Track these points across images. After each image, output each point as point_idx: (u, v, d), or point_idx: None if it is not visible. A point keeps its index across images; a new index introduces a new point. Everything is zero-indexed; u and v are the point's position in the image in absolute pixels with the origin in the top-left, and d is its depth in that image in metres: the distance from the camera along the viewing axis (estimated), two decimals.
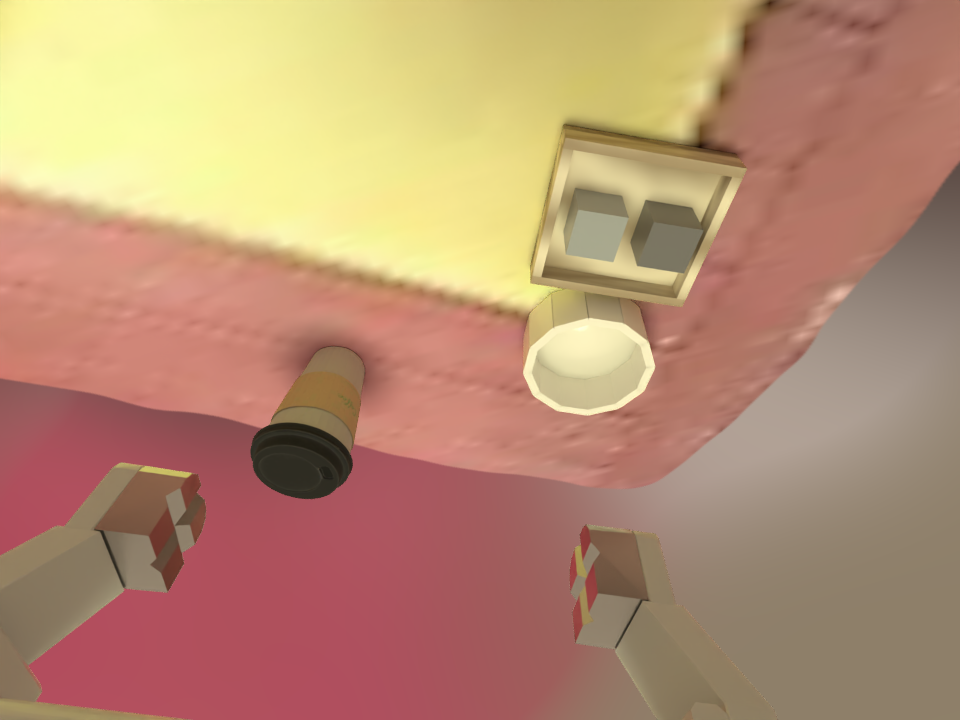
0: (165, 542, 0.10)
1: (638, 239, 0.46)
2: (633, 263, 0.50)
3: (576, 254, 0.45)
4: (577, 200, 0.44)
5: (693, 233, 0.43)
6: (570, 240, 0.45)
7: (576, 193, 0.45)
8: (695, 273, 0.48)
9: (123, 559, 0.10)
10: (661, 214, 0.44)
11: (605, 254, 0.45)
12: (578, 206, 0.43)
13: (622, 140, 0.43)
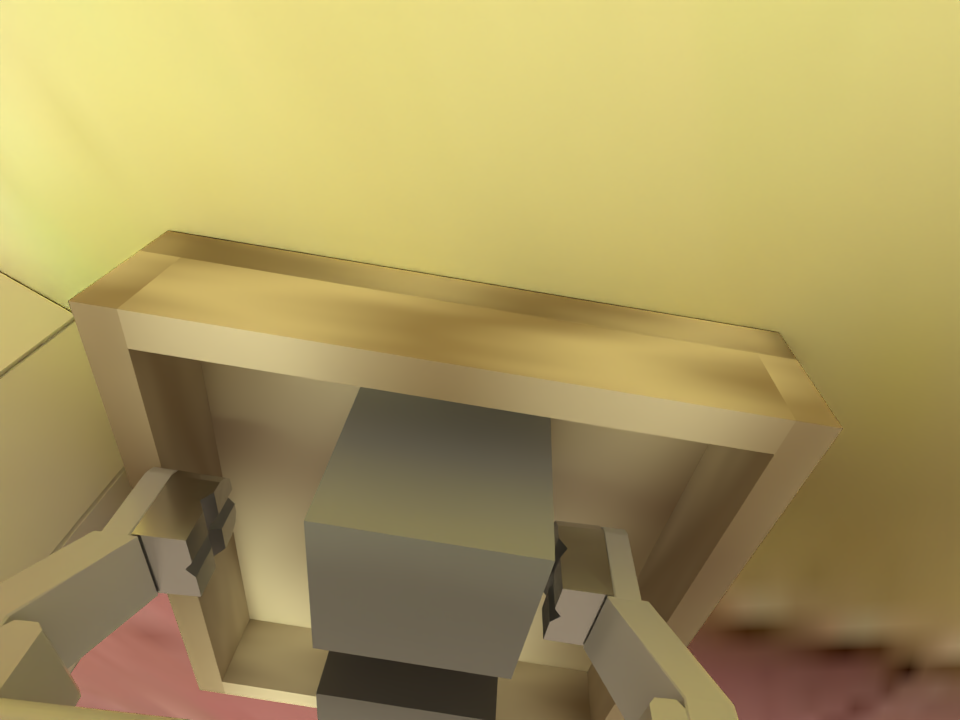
0: (199, 546, 0.10)
1: None
2: (293, 549, 0.16)
3: (315, 555, 0.09)
4: (550, 481, 0.10)
5: None
6: (386, 535, 0.09)
7: (549, 433, 0.11)
8: (313, 704, 0.17)
9: (158, 563, 0.10)
10: None
11: (341, 630, 0.11)
12: (551, 531, 0.09)
13: None
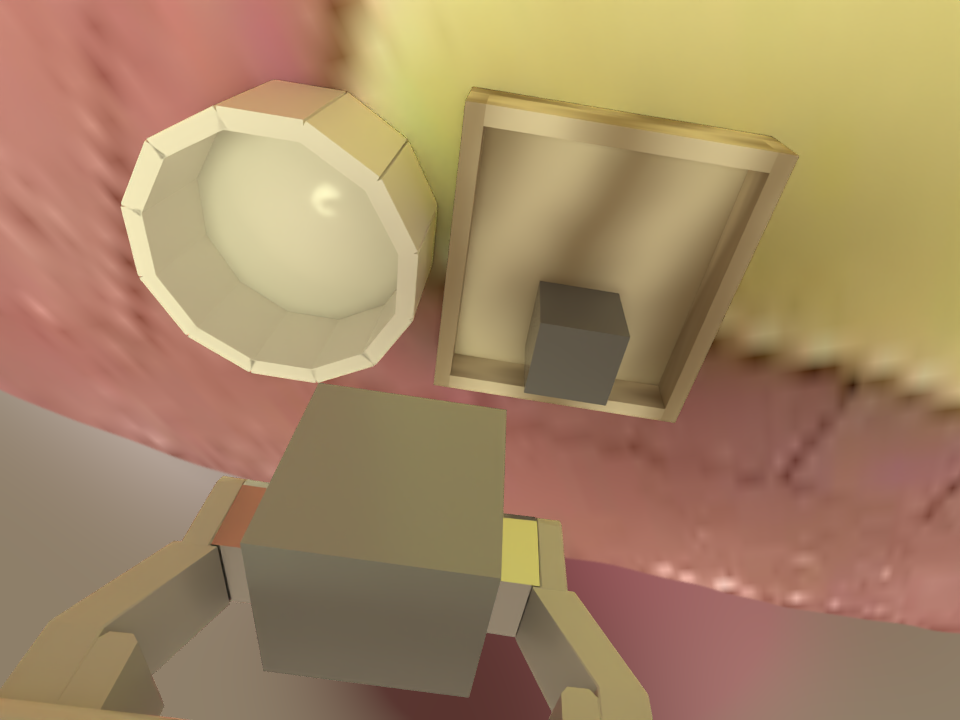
0: None
1: (567, 303, 0.26)
2: (496, 290, 0.28)
3: (256, 577, 0.09)
4: (502, 495, 0.10)
5: (600, 393, 0.26)
6: (326, 556, 0.08)
7: (504, 444, 0.11)
8: (501, 392, 0.29)
9: (234, 573, 0.10)
10: None
11: (291, 653, 0.10)
12: (500, 546, 0.09)
13: None
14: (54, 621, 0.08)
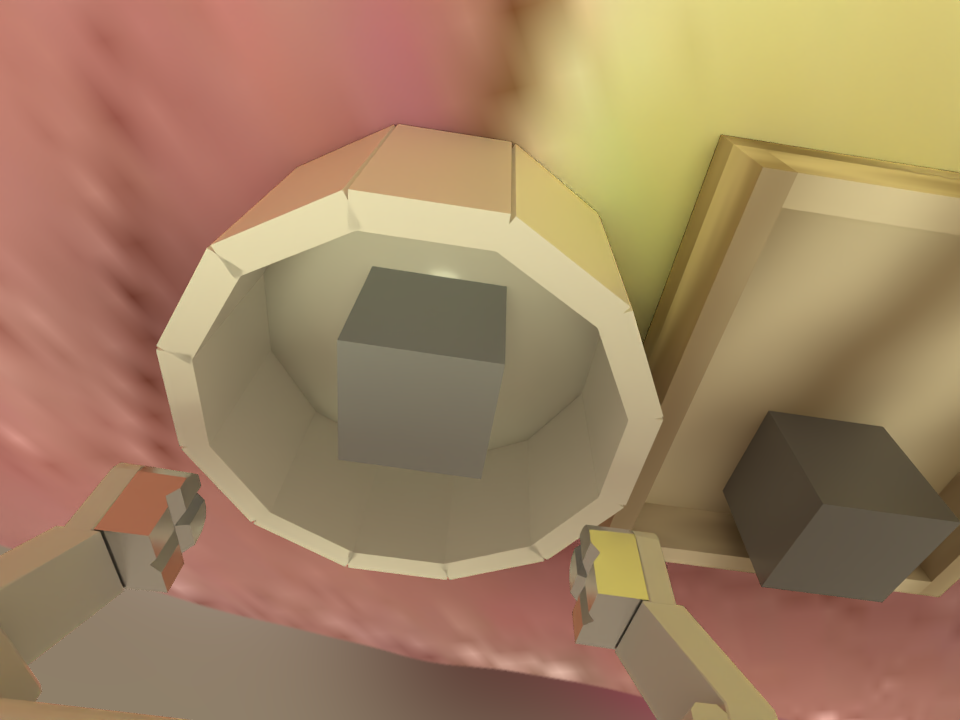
0: (165, 542, 0.10)
1: (832, 455, 0.17)
2: (700, 423, 0.19)
3: (343, 370, 0.13)
4: (504, 328, 0.15)
5: (880, 588, 0.17)
6: (392, 350, 0.13)
7: None
8: (695, 562, 0.20)
9: (123, 559, 0.10)
10: None
11: (359, 440, 0.15)
12: (504, 352, 0.14)
13: None
14: None
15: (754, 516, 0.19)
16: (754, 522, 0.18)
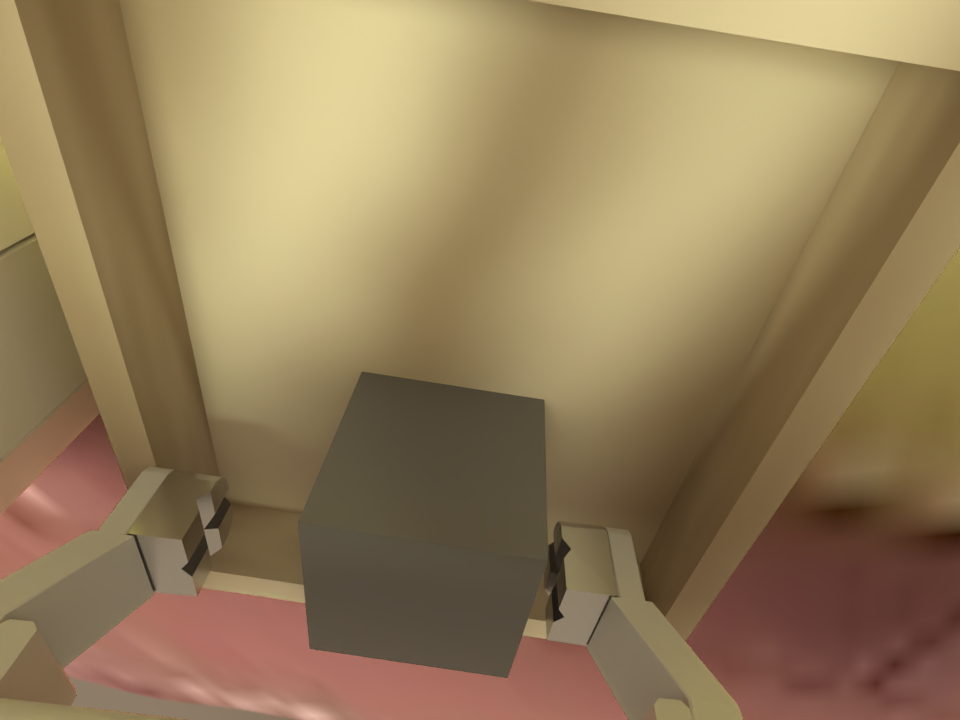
0: (196, 546, 0.10)
1: (406, 440, 0.10)
2: (273, 391, 0.12)
3: None
4: None
5: (490, 658, 0.11)
6: None
7: None
8: (303, 598, 0.14)
9: (154, 563, 0.10)
10: None
11: None
12: None
13: None
14: None
15: None
16: None
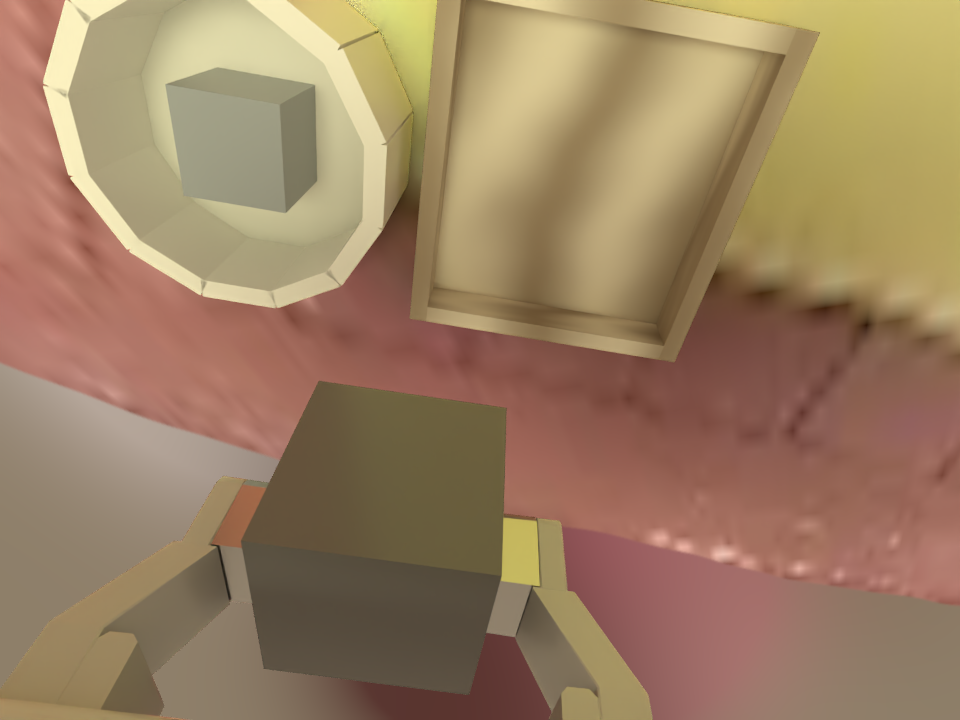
0: None
1: (360, 452, 0.10)
2: (479, 211, 0.25)
3: (174, 111, 0.20)
4: (295, 97, 0.21)
5: (450, 675, 0.10)
6: (203, 93, 0.19)
7: (306, 90, 0.22)
8: (484, 327, 0.26)
9: (234, 573, 0.10)
10: None
11: (195, 177, 0.21)
12: (285, 103, 0.20)
13: None
14: (54, 621, 0.08)
15: None
16: None
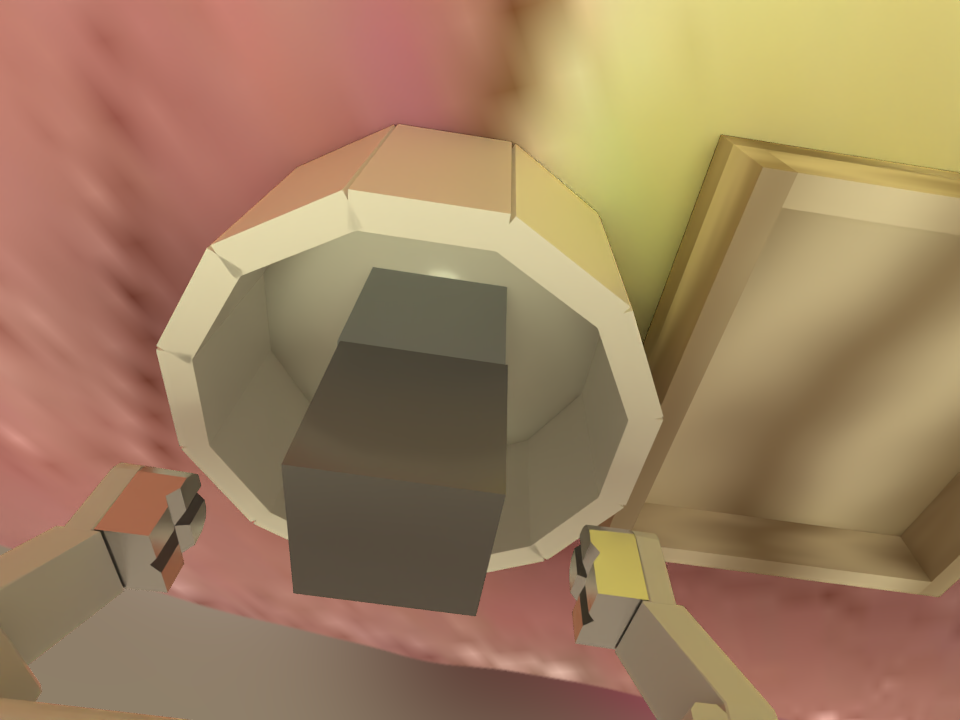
0: (165, 542, 0.10)
1: (380, 398, 0.12)
2: (700, 423, 0.19)
3: None
4: (504, 329, 0.15)
5: (460, 597, 0.12)
6: None
7: None
8: (695, 562, 0.20)
9: (123, 559, 0.10)
10: None
11: None
12: (504, 352, 0.14)
13: None
14: None
15: None
16: None
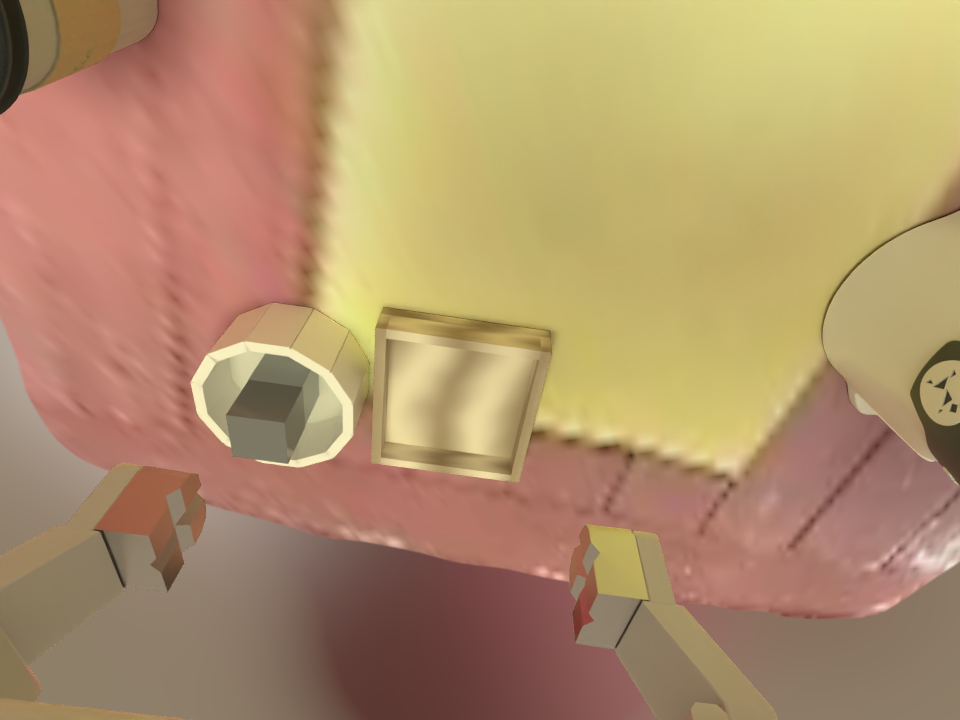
0: (165, 542, 0.10)
1: (257, 397, 0.39)
2: (406, 408, 0.47)
3: None
4: (308, 374, 0.43)
5: (281, 456, 0.40)
6: None
7: None
8: (412, 466, 0.48)
9: (123, 559, 0.10)
10: (293, 417, 0.40)
11: None
12: (304, 382, 0.42)
13: None
14: None
15: None
16: None
